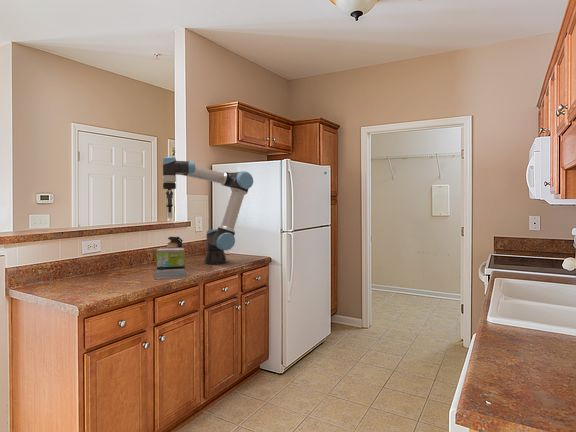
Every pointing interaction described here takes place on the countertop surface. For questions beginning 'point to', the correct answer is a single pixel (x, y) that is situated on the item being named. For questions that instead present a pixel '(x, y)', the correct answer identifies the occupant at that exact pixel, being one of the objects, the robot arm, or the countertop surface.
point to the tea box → (170, 259)
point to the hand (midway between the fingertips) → (169, 217)
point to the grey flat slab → (170, 275)
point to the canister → (174, 242)
